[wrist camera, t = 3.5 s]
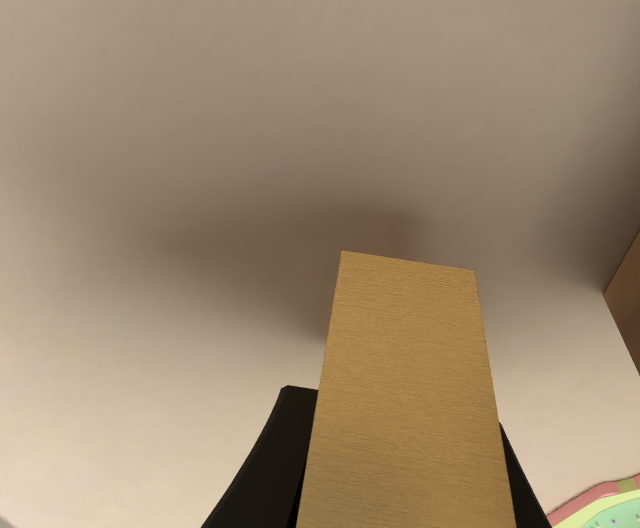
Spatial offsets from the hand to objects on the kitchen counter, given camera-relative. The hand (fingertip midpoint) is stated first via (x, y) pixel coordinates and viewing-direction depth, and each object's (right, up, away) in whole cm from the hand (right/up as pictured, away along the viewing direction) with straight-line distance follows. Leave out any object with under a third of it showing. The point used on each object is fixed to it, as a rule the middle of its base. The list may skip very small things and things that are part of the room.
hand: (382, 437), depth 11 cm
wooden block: (0, +1, +2) cm, 2 cm away
